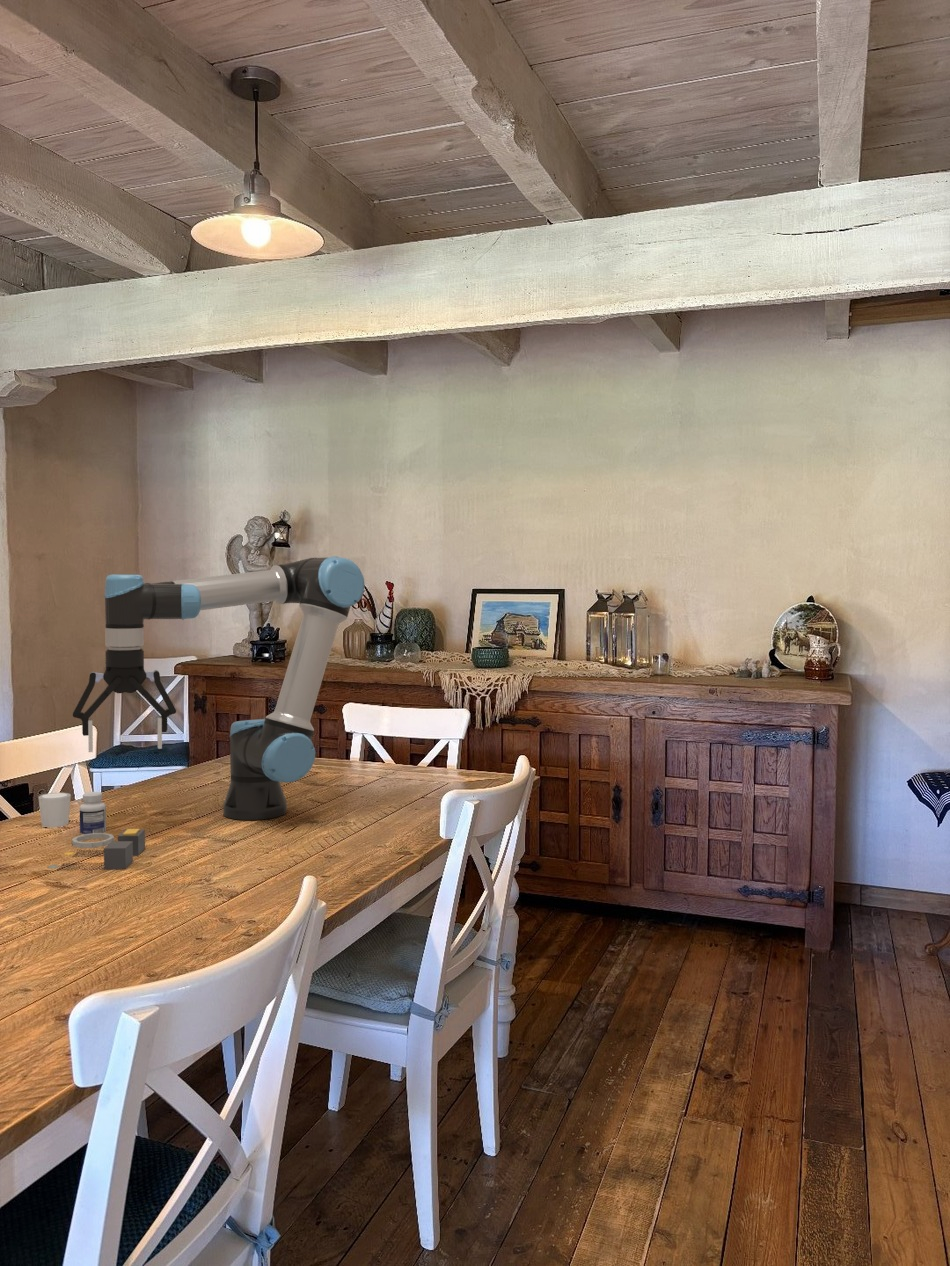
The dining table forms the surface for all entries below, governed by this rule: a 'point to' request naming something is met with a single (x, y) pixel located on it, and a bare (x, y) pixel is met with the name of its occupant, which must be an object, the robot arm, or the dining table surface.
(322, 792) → the dining table surface
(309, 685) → the robot arm
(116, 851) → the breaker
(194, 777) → the dining table surface
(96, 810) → the pill bottle
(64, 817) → the grey cup
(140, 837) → the tagged breaker
